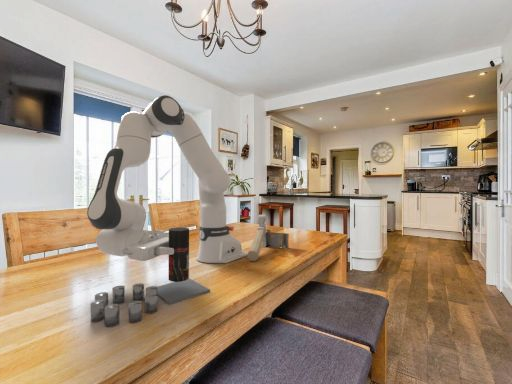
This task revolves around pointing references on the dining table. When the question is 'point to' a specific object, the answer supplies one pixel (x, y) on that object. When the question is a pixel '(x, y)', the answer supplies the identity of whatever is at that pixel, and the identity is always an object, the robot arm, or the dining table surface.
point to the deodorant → (179, 254)
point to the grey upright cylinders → (111, 312)
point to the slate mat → (180, 291)
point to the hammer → (258, 239)
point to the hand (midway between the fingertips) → (181, 248)
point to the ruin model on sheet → (277, 239)
